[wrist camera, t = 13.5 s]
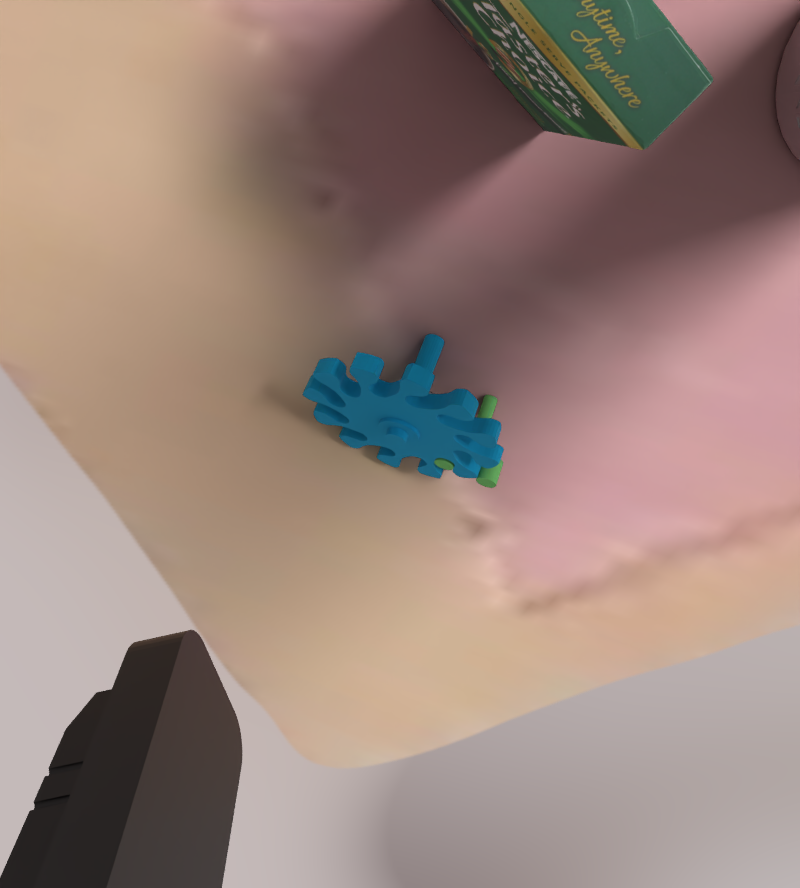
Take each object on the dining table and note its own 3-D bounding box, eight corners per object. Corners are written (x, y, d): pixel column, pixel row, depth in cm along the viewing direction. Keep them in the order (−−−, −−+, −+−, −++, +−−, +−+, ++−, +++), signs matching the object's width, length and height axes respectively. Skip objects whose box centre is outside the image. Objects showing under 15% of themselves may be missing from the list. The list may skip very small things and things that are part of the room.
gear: (263, 403, 37) (374, 358, 29) (308, 310, 39) (424, 244, 31) (423, 505, 42) (555, 491, 34) (455, 417, 44) (586, 384, 36)
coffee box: (416, -8, 31) (461, -63, 19) (465, -68, 30) (544, -162, 18) (541, 135, 34) (647, 164, 22) (589, 84, 33) (726, 87, 21)
